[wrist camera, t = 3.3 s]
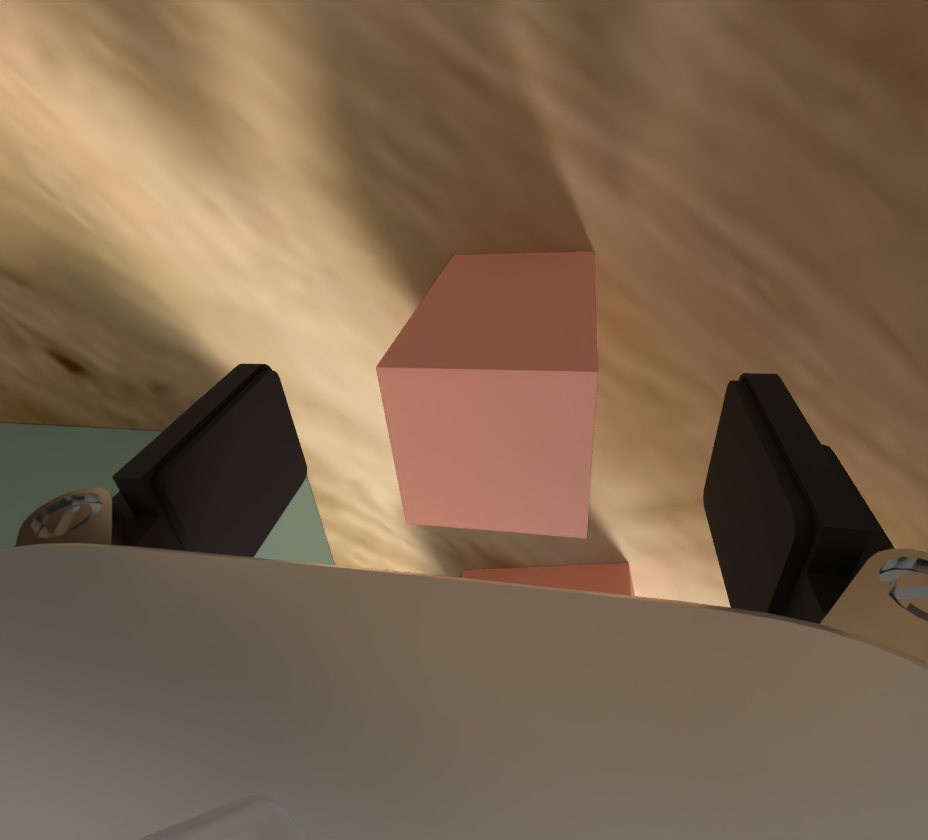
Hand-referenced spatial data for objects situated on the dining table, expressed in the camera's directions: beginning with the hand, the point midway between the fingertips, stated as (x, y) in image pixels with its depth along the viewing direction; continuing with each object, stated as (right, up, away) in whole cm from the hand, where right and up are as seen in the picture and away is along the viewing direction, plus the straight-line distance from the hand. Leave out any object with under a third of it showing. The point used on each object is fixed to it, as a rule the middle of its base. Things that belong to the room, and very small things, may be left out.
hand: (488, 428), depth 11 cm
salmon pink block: (+1, +3, +5) cm, 6 cm away
